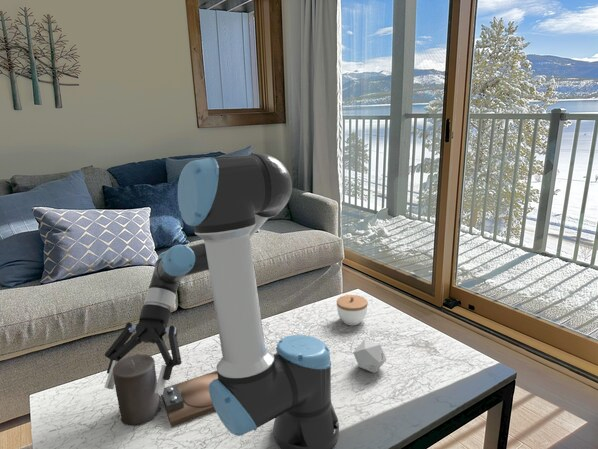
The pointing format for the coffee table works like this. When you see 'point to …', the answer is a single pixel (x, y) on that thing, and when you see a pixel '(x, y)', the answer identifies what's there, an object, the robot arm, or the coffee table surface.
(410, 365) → the coffee table surface
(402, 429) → the coffee table surface
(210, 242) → the robot arm
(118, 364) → the pillar candle
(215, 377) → the board
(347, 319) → the lidded jar
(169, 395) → the dark grey studded block
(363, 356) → the die
